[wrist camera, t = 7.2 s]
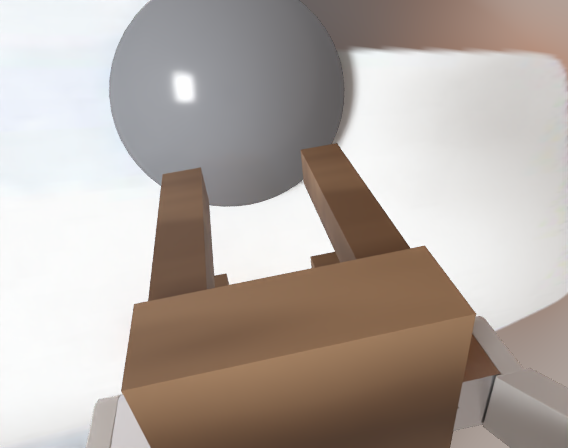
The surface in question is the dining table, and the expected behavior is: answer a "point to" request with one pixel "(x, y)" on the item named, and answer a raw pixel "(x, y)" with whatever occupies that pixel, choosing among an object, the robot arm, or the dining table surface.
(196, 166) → the grey flat disc
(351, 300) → the stool
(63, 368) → the dining table surface
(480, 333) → the robot arm
